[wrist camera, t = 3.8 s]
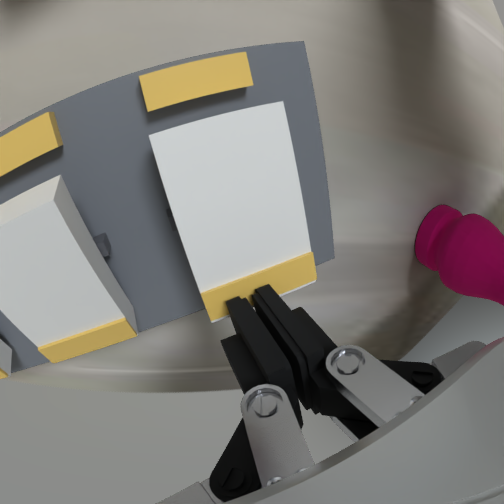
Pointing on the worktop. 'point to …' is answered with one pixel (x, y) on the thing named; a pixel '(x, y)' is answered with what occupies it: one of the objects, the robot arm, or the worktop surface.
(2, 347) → the switch
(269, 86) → the switch unit
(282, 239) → the switch
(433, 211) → the pepper mill
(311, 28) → the worktop surface
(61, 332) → the switch
